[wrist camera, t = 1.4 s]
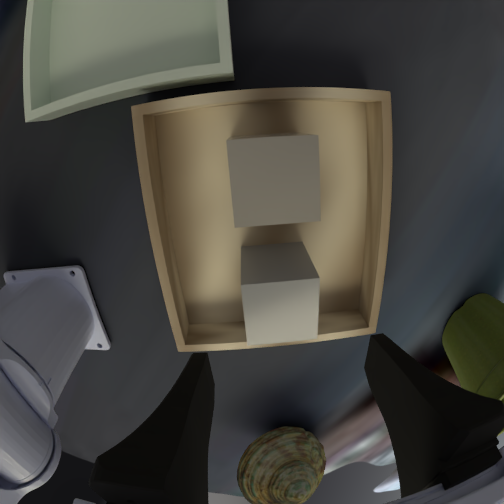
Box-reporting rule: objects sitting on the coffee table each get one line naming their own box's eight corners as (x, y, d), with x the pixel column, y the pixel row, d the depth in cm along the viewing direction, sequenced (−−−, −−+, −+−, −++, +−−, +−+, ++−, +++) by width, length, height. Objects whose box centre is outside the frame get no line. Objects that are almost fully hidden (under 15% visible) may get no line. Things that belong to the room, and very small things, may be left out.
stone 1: (236, 201, 19) (234, 227, 14) (230, 136, 17) (226, 140, 13) (301, 196, 19) (320, 221, 14) (298, 132, 17) (318, 135, 13)
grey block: (246, 299, 22) (247, 345, 17) (240, 246, 20) (240, 285, 15) (302, 294, 21) (317, 338, 17) (302, 241, 20) (319, 277, 15)
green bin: (50, 120, 16) (25, 122, 14) (52, -17, 12) (32, -28, 9) (234, 80, 16) (233, 72, 14) (222, -65, 11) (220, -87, 9)
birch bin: (184, 326, 23) (178, 351, 20) (147, 108, 17) (131, 106, 14) (362, 310, 23) (375, 332, 20) (369, 94, 17) (390, 91, 14)
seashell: (220, 454, 31) (218, 524, 22) (254, 405, 27) (259, 495, 18) (296, 464, 33) (305, 527, 24) (344, 419, 29) (364, 494, 20)
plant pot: (424, 382, 28) (464, 459, 17) (418, 304, 23) (487, 397, 13) (502, 334, 26) (551, 394, 16) (509, 251, 22) (586, 310, 11)
